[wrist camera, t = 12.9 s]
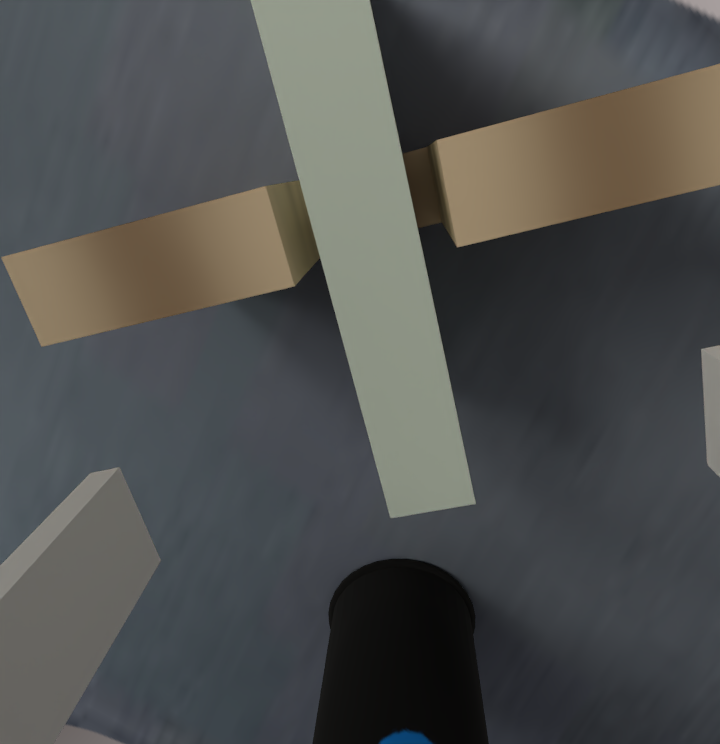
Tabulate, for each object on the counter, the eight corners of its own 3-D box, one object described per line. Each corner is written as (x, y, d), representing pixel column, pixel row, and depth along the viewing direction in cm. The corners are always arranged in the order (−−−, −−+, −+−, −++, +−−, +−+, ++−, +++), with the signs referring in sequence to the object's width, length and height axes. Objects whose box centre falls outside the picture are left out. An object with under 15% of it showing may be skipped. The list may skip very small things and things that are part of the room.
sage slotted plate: (446, 361, 27) (475, 503, 16) (396, 371, 27) (390, 518, 16) (364, -25, 22) (322, -224, 11) (304, -6, 22) (202, -179, 11)
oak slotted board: (197, 268, 26) (41, 346, 15) (179, 215, 25) (1, 257, 14) (601, 166, 24) (780, 170, 12) (594, 104, 23) (779, 47, 12)
